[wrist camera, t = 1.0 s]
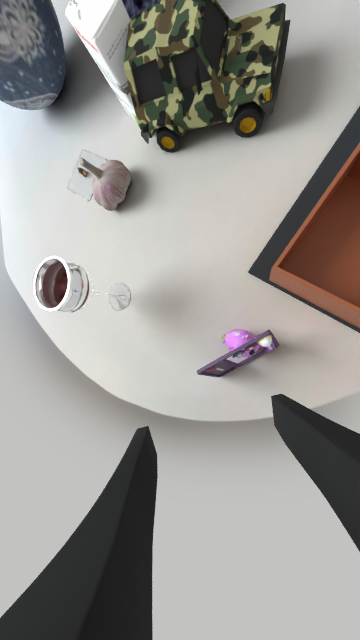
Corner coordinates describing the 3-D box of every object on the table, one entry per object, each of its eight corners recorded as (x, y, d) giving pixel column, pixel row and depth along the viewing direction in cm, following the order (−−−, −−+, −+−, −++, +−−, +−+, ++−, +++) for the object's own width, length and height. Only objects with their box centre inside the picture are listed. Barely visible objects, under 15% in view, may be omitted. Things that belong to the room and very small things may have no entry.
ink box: (170, 109, 30) (121, -10, 19) (149, 137, 32) (92, 41, 21) (143, 84, 32) (85, -36, 22) (125, 111, 34) (61, 11, 23)
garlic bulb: (111, 221, 35) (71, 194, 27) (99, 190, 36) (58, 156, 29) (142, 195, 32) (107, 156, 25) (128, 162, 33) (91, 117, 26)
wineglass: (137, 279, 32) (73, 256, 21) (131, 318, 33) (65, 315, 22) (107, 276, 35) (36, 254, 24) (102, 312, 35) (30, 307, 24)
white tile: (107, 159, 35) (99, 151, 34) (89, 200, 37) (81, 194, 35) (82, 149, 38) (73, 141, 36) (66, 188, 40) (57, 181, 38)
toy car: (273, 133, 24) (282, 17, 15) (151, 157, 32) (106, 88, 22) (288, 56, 24) (306, -112, 15) (160, 98, 31) (118, 4, 22)
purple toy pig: (199, 380, 21) (276, 338, 18) (183, 340, 23) (247, 299, 21) (221, 382, 26) (283, 350, 23) (206, 350, 29) (259, 317, 26)
